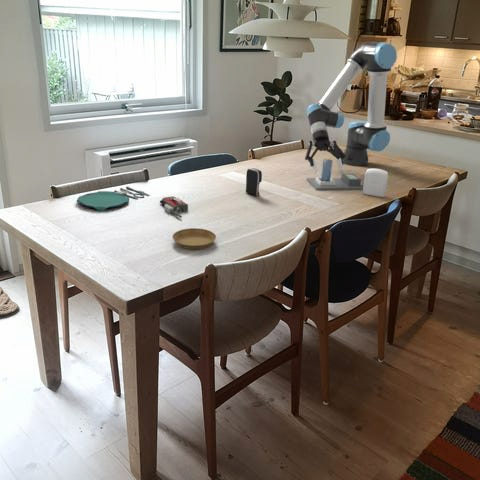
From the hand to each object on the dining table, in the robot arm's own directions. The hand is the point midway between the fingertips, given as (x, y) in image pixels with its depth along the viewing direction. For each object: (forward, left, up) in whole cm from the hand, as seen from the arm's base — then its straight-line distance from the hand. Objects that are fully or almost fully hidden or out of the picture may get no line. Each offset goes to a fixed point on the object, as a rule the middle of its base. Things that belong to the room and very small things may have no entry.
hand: (328, 171), depth 235 cm
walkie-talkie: (+74, +30, -8) cm, 80 cm away
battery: (+38, +11, -7) cm, 40 cm away
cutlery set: (+99, +17, -8) cm, 100 cm away
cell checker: (-5, -2, -7) cm, 9 cm away
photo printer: (-18, +14, -7) cm, 24 cm away
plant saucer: (+69, +63, -8) cm, 94 cm away
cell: (0, -2, -6) cm, 7 cm away
